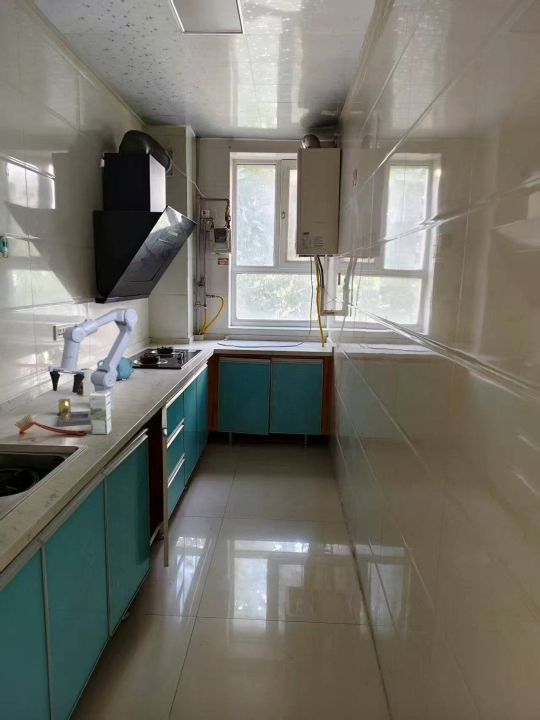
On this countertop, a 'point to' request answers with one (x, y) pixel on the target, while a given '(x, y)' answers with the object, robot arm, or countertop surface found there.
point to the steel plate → (75, 418)
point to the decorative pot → (122, 368)
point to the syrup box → (100, 412)
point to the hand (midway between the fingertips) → (64, 391)
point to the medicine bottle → (86, 384)
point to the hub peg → (64, 405)
